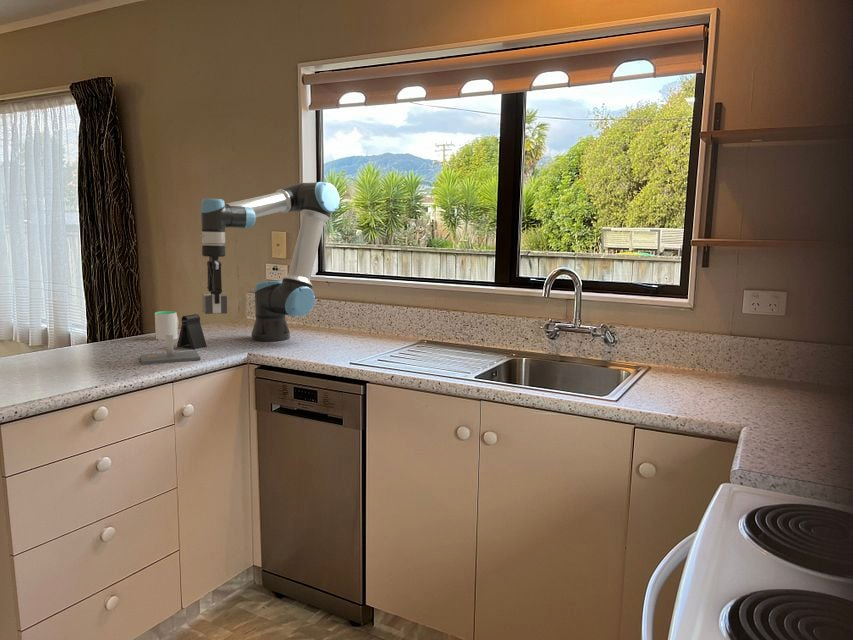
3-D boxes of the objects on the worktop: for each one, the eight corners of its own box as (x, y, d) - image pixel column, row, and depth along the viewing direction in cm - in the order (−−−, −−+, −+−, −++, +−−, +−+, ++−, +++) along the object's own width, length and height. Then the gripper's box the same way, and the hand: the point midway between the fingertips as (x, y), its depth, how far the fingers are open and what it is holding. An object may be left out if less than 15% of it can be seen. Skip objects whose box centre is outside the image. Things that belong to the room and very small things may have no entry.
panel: (196, 353, 222) (195, 331, 221) (200, 360, 212) (199, 336, 210) (140, 357, 214) (139, 334, 213) (141, 364, 204) (140, 340, 202)
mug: (166, 334, 259) (165, 309, 257) (185, 335, 258) (184, 310, 256) (151, 339, 247) (150, 313, 245) (171, 340, 246) (170, 314, 245)
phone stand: (207, 347, 234) (205, 315, 233) (194, 349, 229) (193, 317, 227) (189, 344, 238) (188, 313, 237) (176, 347, 233) (175, 315, 231)
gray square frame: (223, 311, 222) (223, 293, 221) (227, 313, 216) (226, 295, 215) (202, 311, 219) (202, 293, 218) (205, 314, 212) (205, 295, 212)
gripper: (197, 243, 221) (199, 308, 224) (206, 245, 203) (208, 315, 207) (220, 244, 224) (221, 308, 228) (230, 245, 207) (231, 314, 210)
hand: (214, 311), depth 217 cm, fingers closed on gray square frame, 7 cm apart
